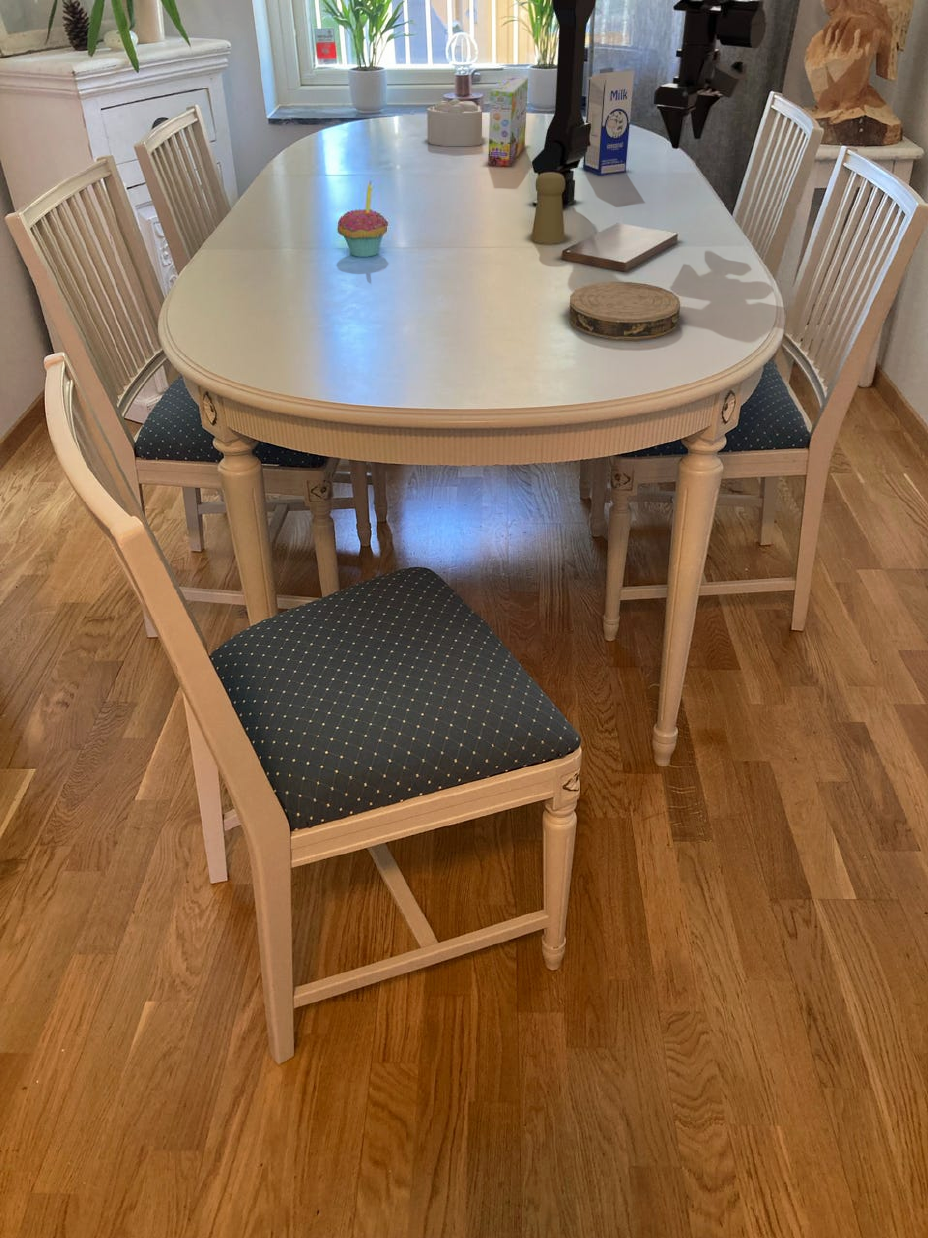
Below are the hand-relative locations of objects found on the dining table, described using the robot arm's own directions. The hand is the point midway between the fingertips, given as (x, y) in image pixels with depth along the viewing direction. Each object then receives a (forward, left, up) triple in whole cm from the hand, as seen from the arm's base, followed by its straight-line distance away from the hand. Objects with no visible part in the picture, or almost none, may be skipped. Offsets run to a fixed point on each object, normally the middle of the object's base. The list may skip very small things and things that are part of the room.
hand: (686, 143), depth 183 cm
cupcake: (-38, -45, -15) cm, 60 cm away
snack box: (-57, +31, -15) cm, 67 cm away
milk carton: (-32, +31, -15) cm, 47 cm away
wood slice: (+14, -49, -15) cm, 53 cm away
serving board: (-2, -19, -14) cm, 24 cm away
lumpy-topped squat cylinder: (-76, +37, -15) cm, 86 cm away
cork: (-16, -20, -15) cm, 29 cm away
